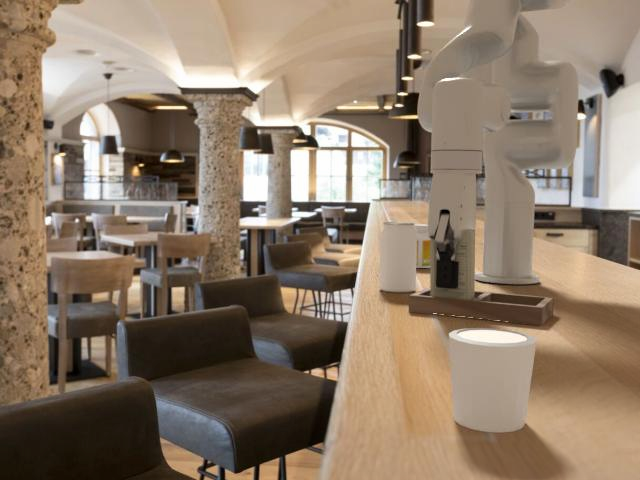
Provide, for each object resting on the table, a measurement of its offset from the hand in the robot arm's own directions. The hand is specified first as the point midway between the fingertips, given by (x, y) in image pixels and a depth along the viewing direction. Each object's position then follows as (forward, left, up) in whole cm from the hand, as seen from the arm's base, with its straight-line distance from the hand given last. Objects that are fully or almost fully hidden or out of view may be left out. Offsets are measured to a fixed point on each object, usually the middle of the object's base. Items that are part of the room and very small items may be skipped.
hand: (452, 284), depth 106 cm
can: (-14, -14, -4) cm, 20 cm away
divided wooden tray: (0, +5, -4) cm, 6 cm away
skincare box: (0, 0, -4) cm, 4 cm away
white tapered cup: (+47, +17, -4) cm, 50 cm away
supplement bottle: (-49, -22, -4) cm, 54 cm away
